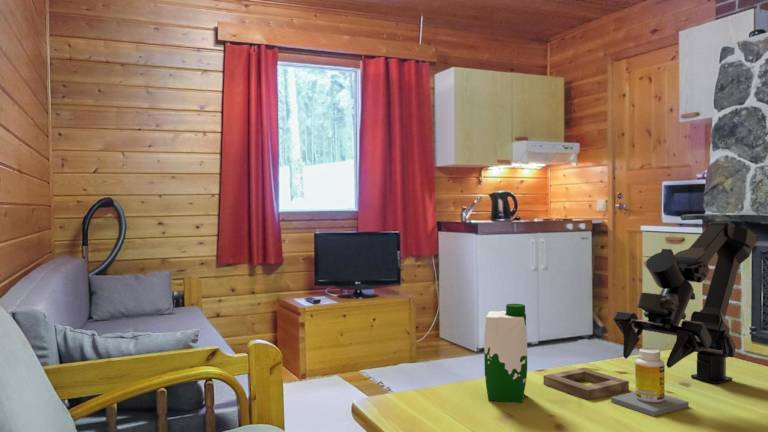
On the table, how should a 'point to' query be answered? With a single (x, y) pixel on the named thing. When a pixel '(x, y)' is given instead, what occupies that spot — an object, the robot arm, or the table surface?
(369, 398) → the table surface
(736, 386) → the table surface
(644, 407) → the slate mat
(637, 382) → the supplement bottle
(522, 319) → the milk carton
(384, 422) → the table surface
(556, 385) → the walnut holder
